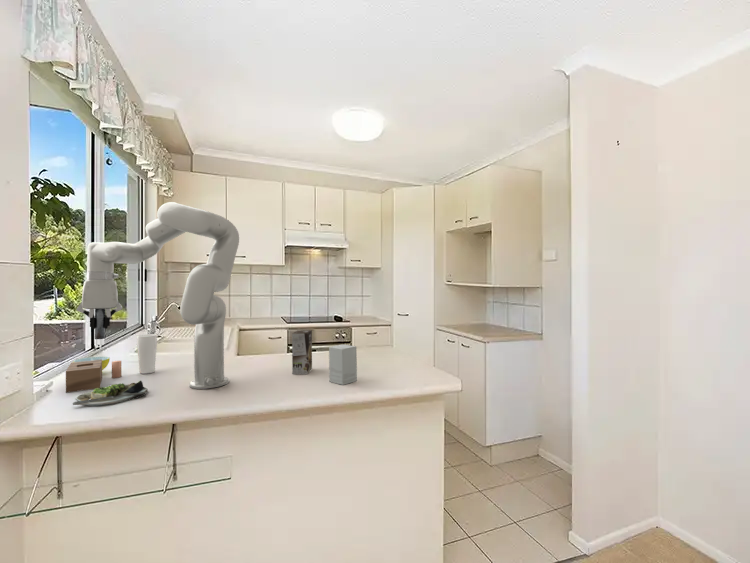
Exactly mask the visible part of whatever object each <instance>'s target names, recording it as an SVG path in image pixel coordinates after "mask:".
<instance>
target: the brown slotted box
mask: <svg viewBox="0 0 750 563" xmlns="http://www.w3.org/2000/svg"><path fill="white" fill-rule="evenodd" d="M102 381H103V370H102V359H101V360H92V361H82V362H73V361H72V362H70V364H69V365H68V367H67V369H66V370H65V393H72V392H79V391H80V392H81V391H88V390H94V389H96V388H101V384H102Z"/></svg>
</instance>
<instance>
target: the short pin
mask: <svg viewBox="0 0 750 563" xmlns="http://www.w3.org/2000/svg"><path fill="white" fill-rule="evenodd" d="M119 378H122V360H114V361H113V360H112V361H111V379H119Z"/></svg>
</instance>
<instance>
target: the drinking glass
mask: <svg viewBox="0 0 750 563" xmlns="http://www.w3.org/2000/svg"><path fill="white" fill-rule="evenodd" d="M136 346H137V347H136V348H137V357H138V366H139V368H138V369H139V374H142V375H146V374H147V375H148V374H152V373H154V372H155V371H156V361H157V360H156V359H157V358H156V357H157V349H158V348H157V347H158V336H157V334H156V333H146V334H145V333H144V334H139V335H137V338H136Z"/></svg>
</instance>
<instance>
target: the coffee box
mask: <svg viewBox="0 0 750 563" xmlns="http://www.w3.org/2000/svg"><path fill="white" fill-rule="evenodd" d="M291 336H292V338H291V339H292V340H291V342H292V343H291V344H292V345H291V346H292V347H291V348H292V349H291V350H292V351H291V352H292V353H291V356H292V360H291V362H292V364H291V365H292V367H291V370H292V372H291V374H292V375H308V374H309V373H311V371H312V369H313V340H312V339H313V330H311V329H308V330H307V329H306V330H303V329H302V330H295V331H294V332H292V335H291Z"/></svg>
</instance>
